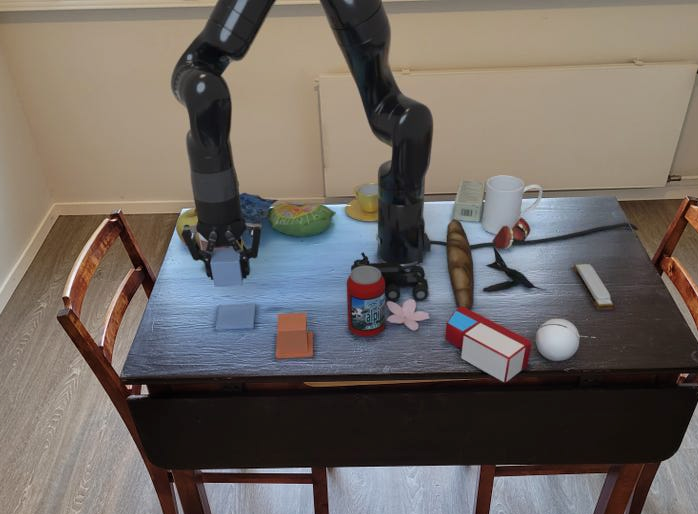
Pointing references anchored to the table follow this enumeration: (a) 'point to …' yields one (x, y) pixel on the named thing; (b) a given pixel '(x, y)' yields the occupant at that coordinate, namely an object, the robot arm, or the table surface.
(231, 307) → the slate-blue mat
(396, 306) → the flower
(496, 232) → the mug
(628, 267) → the table surface
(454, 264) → the bread
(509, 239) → the dentures model
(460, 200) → the cosmetic box
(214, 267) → the slate-blue block
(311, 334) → the terracotta mat
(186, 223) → the apple
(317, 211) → the educational model
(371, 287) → the beverage can
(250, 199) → the rock
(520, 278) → the bird model
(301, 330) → the terracotta block
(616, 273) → the table surface
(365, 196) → the cup
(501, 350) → the toy truck
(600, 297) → the harmonica
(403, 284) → the toy vehicle
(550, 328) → the seamed sphere
